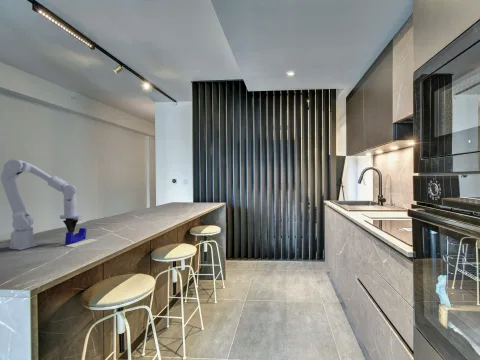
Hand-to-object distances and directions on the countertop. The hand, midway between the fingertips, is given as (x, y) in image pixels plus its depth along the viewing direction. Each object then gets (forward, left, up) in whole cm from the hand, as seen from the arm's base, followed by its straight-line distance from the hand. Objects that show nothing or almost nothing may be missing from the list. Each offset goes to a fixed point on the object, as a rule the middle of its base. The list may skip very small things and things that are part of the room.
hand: (71, 232), depth 138 cm
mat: (+8, 0, -5) cm, 10 cm away
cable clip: (+1, +1, -5) cm, 5 cm away
